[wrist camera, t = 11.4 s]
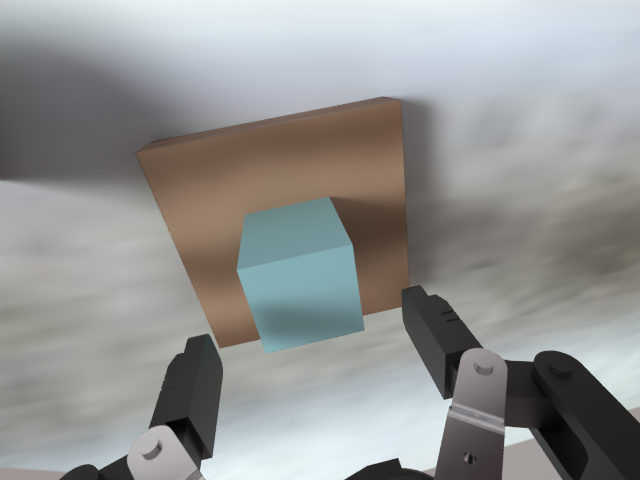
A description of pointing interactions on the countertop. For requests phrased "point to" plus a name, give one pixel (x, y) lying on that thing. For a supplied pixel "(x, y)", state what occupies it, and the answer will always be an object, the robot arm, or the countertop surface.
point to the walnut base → (284, 198)
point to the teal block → (299, 275)
